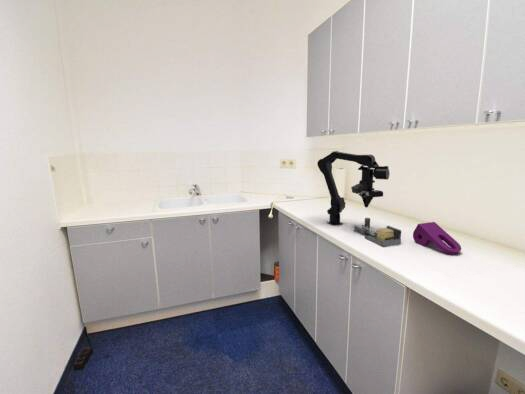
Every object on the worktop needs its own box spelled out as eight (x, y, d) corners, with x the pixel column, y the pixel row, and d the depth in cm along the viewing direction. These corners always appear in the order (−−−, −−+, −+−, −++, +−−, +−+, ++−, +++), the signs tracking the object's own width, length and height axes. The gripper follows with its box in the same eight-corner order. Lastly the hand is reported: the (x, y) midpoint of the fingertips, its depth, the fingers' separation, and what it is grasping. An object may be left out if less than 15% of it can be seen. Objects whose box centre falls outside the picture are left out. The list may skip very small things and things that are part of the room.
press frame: (350, 231, 144) (350, 220, 143) (368, 228, 147) (368, 218, 146) (382, 247, 121) (383, 234, 120) (403, 243, 125) (404, 231, 124)
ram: (362, 230, 140) (362, 217, 139) (366, 229, 141) (367, 217, 140) (378, 237, 129) (379, 223, 128) (382, 237, 130) (383, 223, 128)
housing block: (376, 238, 129) (377, 229, 128) (385, 237, 130) (385, 227, 129) (384, 242, 124) (385, 232, 123) (393, 241, 125) (393, 230, 125)
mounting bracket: (456, 263, 117) (426, 234, 131) (466, 250, 112) (434, 221, 126) (438, 266, 114) (410, 236, 128) (448, 253, 109) (418, 223, 123)
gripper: (343, 177, 148) (343, 205, 151) (365, 181, 131) (364, 212, 134) (361, 176, 151) (360, 203, 154) (384, 180, 134) (383, 210, 137)
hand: (366, 207), depth 145 cm, fingers closed
